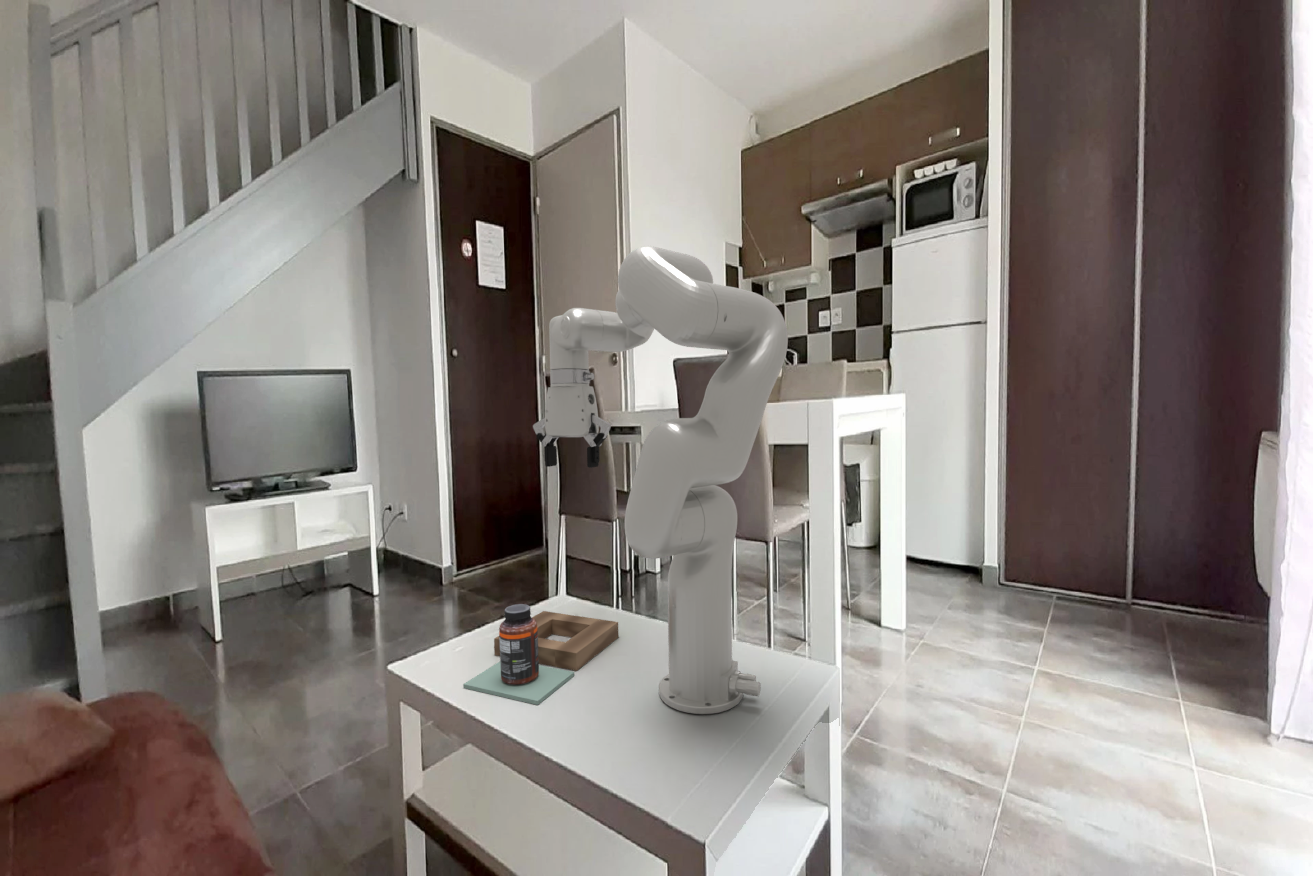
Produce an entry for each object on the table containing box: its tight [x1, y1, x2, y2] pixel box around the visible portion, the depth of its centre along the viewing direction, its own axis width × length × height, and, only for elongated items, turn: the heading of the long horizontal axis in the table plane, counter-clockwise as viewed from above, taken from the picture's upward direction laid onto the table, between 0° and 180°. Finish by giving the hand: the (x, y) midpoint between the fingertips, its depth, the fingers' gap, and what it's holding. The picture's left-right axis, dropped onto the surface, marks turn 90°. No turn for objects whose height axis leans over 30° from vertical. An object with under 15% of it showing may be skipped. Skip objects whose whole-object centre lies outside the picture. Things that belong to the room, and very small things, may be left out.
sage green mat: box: [462, 661, 575, 706], centre depth 89 cm, size 14×10×1 cm
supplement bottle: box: [498, 603, 540, 685], centre depth 88 cm, size 6×6×11 cm
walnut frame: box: [493, 610, 620, 672], centre depth 102 cm, size 17×15×3 cm
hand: (571, 466), depth 110 cm, fingers open, 9 cm apart
